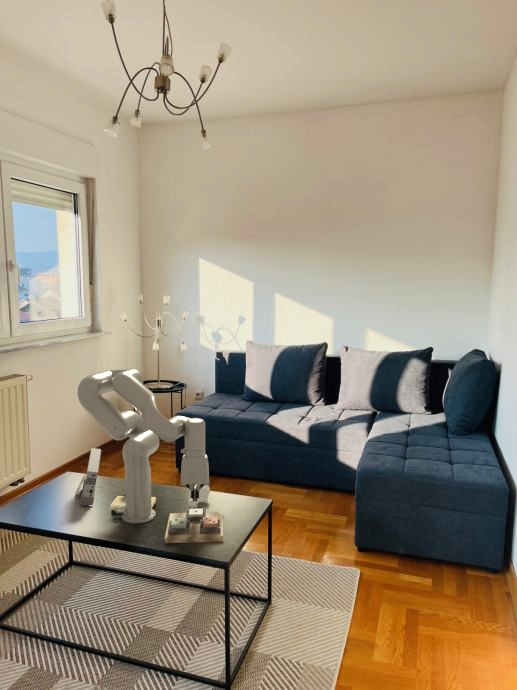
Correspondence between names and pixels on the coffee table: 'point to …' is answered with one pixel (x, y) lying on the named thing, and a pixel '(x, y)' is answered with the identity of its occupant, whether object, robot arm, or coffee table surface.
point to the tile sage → (178, 523)
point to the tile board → (195, 528)
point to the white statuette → (200, 496)
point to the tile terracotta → (210, 522)
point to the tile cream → (196, 512)
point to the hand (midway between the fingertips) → (194, 500)
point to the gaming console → (90, 478)
